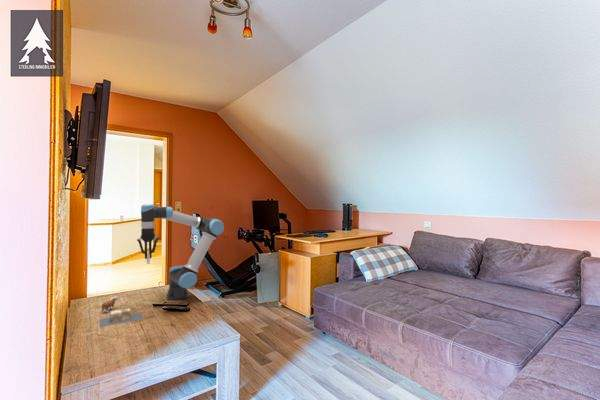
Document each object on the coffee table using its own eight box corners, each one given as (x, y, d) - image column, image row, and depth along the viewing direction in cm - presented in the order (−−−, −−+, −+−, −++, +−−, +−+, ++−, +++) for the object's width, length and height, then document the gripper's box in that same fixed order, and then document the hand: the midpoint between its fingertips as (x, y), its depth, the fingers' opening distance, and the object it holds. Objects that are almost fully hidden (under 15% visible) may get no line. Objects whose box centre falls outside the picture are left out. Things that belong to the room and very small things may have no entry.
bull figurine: (120, 307, 202) (120, 295, 202) (105, 315, 189) (105, 302, 189) (114, 306, 203) (114, 294, 202) (98, 314, 189) (99, 301, 189)
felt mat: (141, 312, 193) (141, 312, 193) (142, 319, 183) (143, 319, 183) (100, 319, 182) (100, 319, 182) (99, 327, 171) (99, 327, 171)
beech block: (129, 308, 187) (110, 311, 181) (130, 310, 182) (110, 314, 177) (129, 316, 187) (110, 319, 181) (130, 319, 182) (110, 322, 177)
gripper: (157, 226, 204) (157, 261, 204) (135, 228, 196) (136, 263, 197) (159, 227, 197) (160, 263, 198) (137, 229, 190) (137, 266, 191)
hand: (148, 263), depth 197 cm, fingers closed
